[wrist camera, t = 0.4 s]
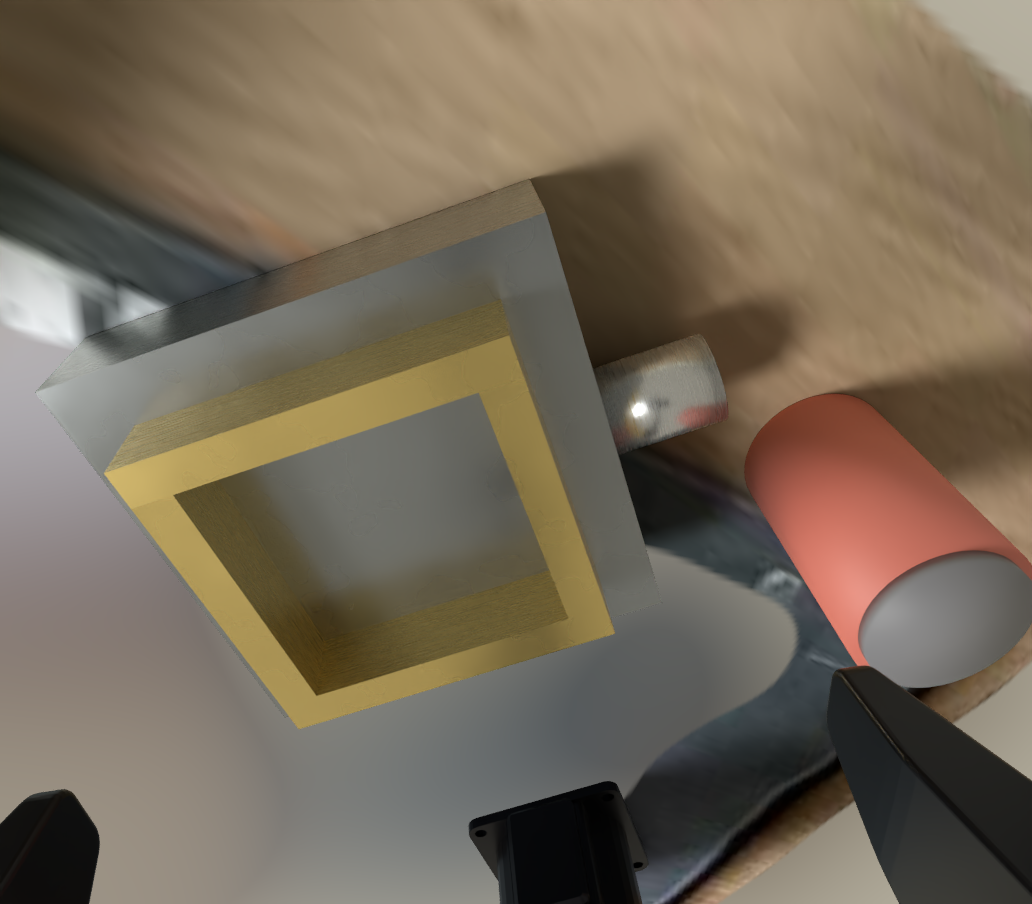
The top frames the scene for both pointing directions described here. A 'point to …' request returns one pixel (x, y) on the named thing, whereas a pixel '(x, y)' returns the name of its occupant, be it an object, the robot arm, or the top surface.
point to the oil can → (888, 544)
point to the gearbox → (388, 456)
